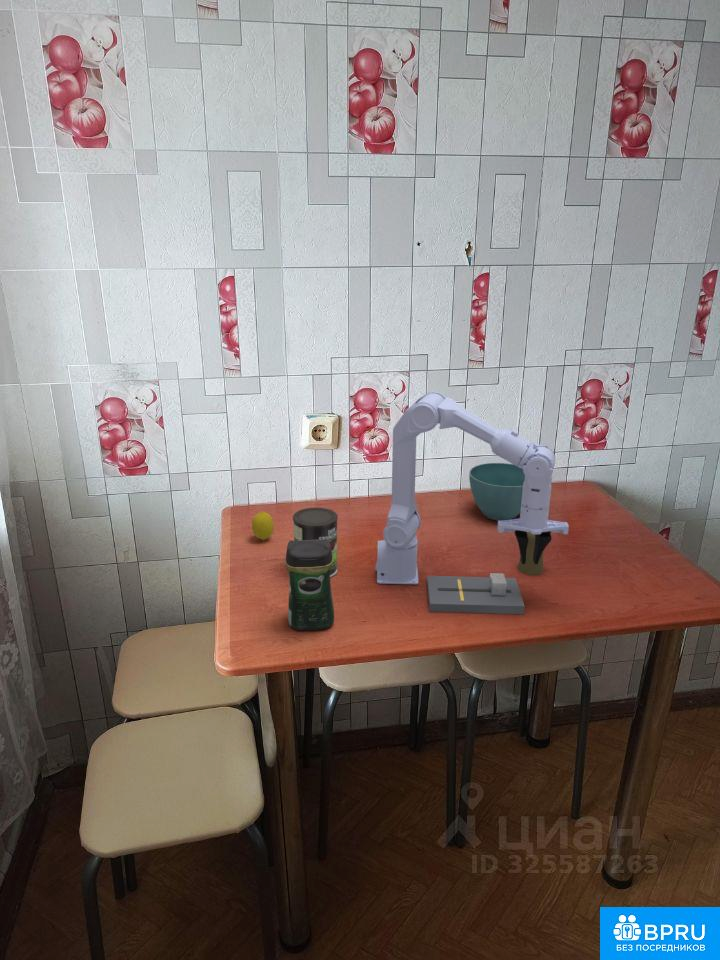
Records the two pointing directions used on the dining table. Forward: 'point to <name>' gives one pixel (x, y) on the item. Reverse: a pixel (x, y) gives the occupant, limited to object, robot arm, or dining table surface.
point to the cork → (531, 559)
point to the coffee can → (317, 528)
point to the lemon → (262, 525)
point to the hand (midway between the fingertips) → (529, 561)
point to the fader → (497, 584)
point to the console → (472, 596)
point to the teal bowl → (497, 489)
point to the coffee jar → (309, 584)
